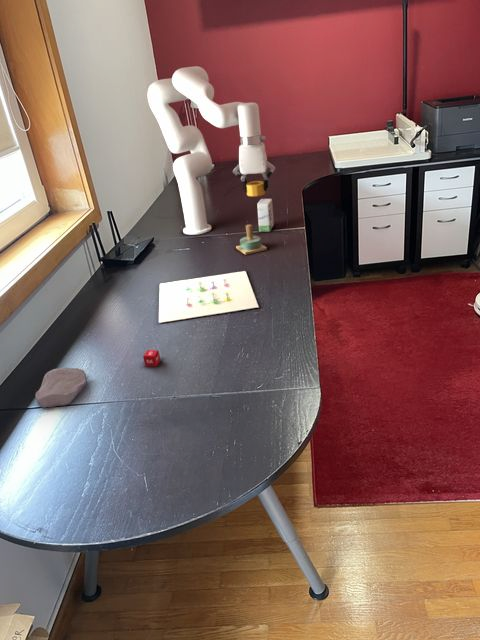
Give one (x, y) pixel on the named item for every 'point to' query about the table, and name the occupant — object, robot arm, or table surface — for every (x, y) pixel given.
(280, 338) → the table surface
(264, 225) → the ink box
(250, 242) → the stacking peg
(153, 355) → the dice
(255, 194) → the ring
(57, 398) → the stone block
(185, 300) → the printed paper
